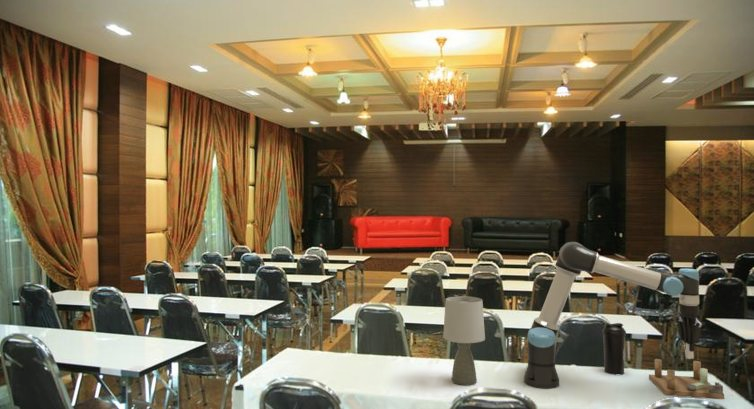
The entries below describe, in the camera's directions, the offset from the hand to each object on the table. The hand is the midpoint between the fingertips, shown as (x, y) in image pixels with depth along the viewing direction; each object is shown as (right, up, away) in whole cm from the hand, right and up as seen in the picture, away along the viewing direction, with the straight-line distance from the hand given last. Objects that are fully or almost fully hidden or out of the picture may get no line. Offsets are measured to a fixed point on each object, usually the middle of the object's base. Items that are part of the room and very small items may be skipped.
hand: (689, 358), depth 233 cm
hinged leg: (-2, -10, -9) cm, 14 cm away
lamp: (-98, -13, +7) cm, 99 cm away
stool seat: (-4, -12, -3) cm, 13 cm away
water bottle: (-24, -13, +20) cm, 34 cm away
